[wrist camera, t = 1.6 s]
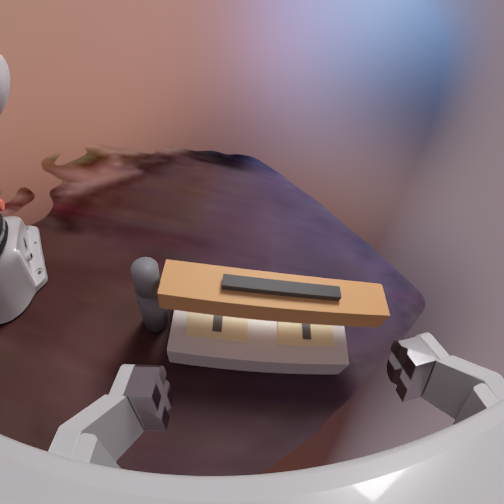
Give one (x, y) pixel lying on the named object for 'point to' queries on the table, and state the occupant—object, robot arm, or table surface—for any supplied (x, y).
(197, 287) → the light wooden bar
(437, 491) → the robot arm
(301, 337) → the two-drawer filing cabinet
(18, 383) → the table surface
